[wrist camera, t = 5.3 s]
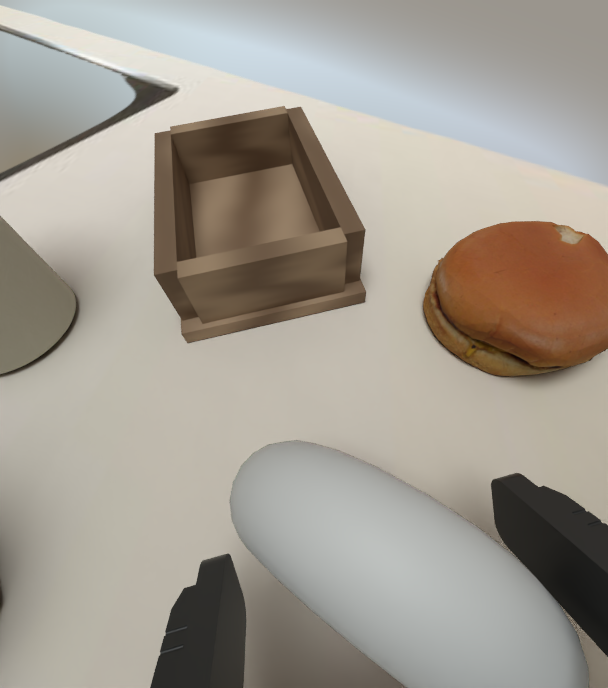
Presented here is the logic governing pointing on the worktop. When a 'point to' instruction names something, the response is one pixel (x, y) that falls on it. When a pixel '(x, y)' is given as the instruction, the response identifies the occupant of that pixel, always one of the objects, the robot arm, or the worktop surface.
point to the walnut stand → (252, 224)
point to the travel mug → (29, 302)
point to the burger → (521, 298)
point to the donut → (401, 574)
